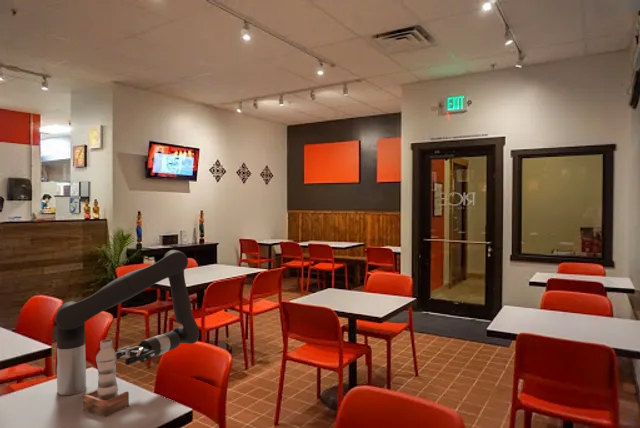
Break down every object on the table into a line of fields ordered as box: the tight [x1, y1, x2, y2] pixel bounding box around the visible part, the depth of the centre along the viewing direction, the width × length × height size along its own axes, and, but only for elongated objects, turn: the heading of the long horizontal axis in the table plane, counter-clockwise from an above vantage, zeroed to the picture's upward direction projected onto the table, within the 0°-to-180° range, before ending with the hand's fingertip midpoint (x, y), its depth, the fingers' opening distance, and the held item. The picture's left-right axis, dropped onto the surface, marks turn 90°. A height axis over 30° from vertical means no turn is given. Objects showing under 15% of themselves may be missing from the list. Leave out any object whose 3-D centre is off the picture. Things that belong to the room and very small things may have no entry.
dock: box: [82, 388, 130, 418], centre depth 151 cm, size 12×9×5 cm
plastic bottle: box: [95, 339, 119, 400], centre depth 152 cm, size 6×7×20 cm
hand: (118, 360), depth 156 cm, fingers open, 8 cm apart
